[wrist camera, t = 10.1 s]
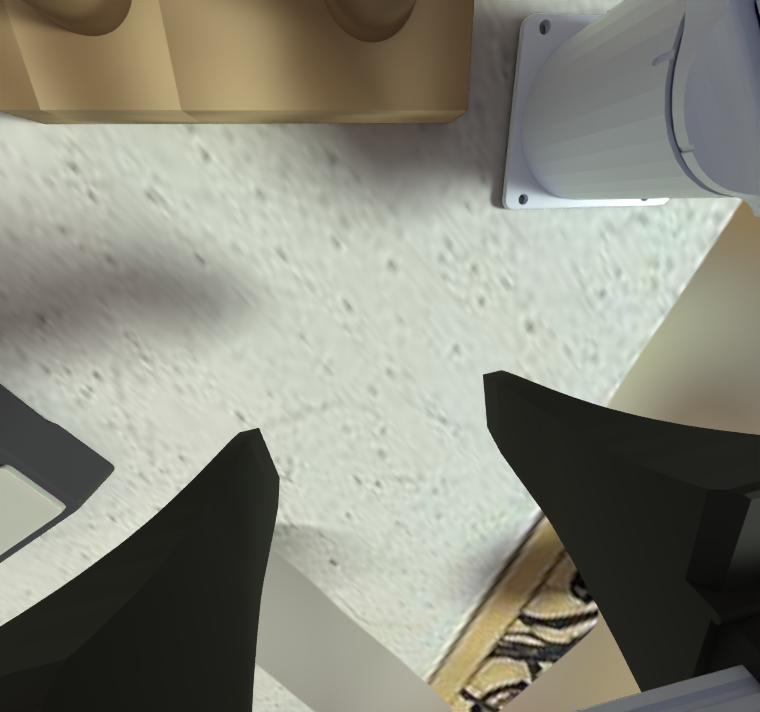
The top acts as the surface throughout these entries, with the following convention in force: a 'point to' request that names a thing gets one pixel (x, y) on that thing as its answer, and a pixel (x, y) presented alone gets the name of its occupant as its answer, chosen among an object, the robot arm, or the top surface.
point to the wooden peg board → (235, 61)
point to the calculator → (40, 474)
